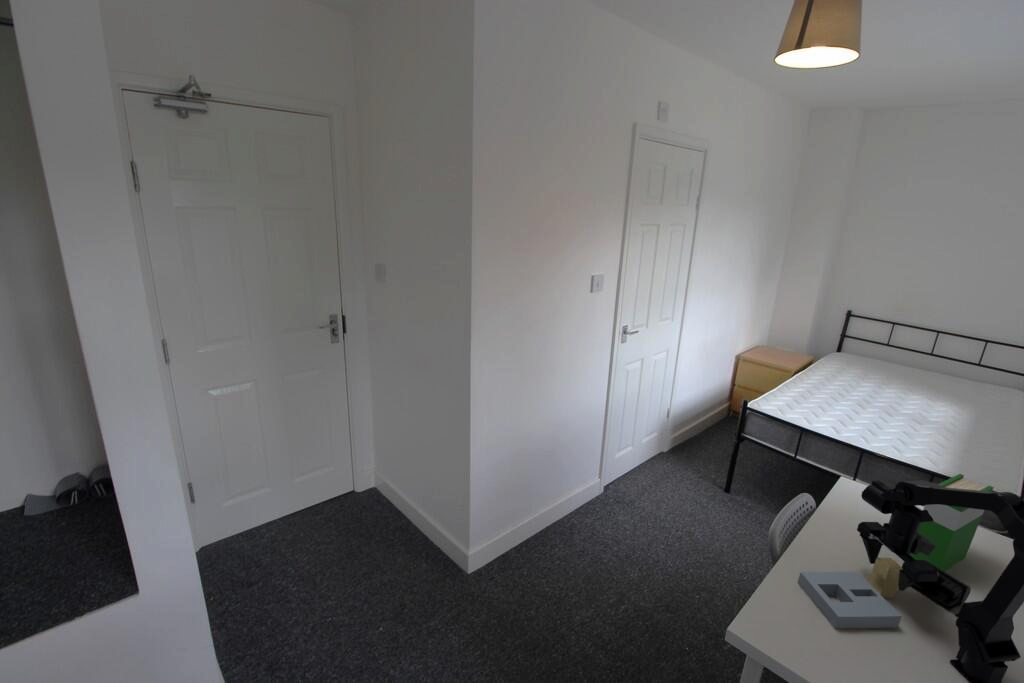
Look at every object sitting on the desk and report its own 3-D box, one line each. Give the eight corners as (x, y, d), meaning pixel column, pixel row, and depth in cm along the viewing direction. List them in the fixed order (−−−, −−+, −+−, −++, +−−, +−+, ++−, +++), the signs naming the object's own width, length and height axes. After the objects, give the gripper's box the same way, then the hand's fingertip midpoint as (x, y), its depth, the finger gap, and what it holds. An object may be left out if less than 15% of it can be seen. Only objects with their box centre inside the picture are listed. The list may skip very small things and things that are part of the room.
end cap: (965, 605, 121) (974, 583, 119) (950, 613, 119) (959, 591, 117) (920, 577, 130) (928, 557, 128) (905, 584, 127) (913, 563, 125)
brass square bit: (893, 597, 122) (903, 569, 120) (879, 597, 122) (889, 569, 120) (881, 585, 126) (890, 557, 124) (867, 585, 126) (876, 557, 123)
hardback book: (934, 541, 145) (960, 473, 138) (965, 557, 139) (993, 487, 132) (905, 558, 137) (931, 487, 130) (936, 576, 131) (965, 502, 124)
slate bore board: (897, 627, 113) (901, 616, 112) (834, 628, 112) (838, 616, 111) (853, 582, 127) (857, 571, 126) (797, 582, 126) (800, 571, 125)
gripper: (969, 552, 110) (948, 605, 114) (901, 503, 128) (885, 551, 132) (925, 552, 109) (905, 606, 114) (863, 503, 127) (848, 550, 131)
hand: (886, 576), depth 123 cm, fingers open, 9 cm apart
